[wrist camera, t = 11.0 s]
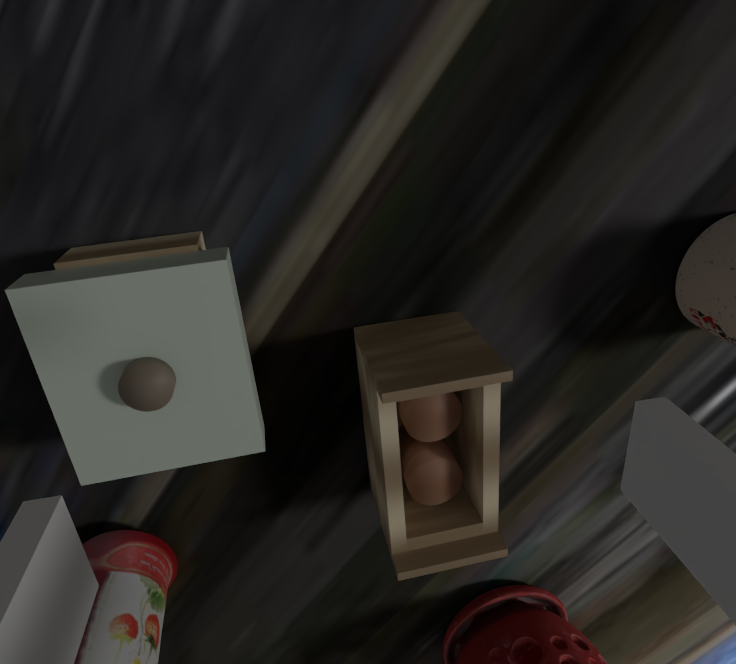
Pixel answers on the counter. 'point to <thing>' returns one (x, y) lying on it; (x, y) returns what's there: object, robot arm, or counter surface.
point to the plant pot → (516, 631)
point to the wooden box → (433, 439)
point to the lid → (143, 362)
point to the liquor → (127, 598)
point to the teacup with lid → (710, 280)
